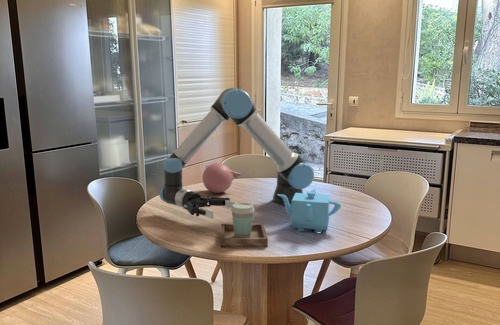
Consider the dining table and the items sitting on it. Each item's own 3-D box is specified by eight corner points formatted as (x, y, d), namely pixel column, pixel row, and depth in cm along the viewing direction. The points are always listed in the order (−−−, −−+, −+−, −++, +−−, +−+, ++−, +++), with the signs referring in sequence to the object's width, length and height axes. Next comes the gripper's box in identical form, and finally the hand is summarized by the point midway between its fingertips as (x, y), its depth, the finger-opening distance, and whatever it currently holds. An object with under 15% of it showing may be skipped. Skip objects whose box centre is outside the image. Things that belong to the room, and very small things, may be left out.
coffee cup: (258, 236, 161) (259, 205, 159) (242, 242, 155) (242, 210, 153) (242, 230, 167) (242, 200, 165) (226, 236, 161) (226, 205, 159)
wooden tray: (263, 230, 170) (263, 223, 169) (267, 246, 154) (267, 238, 153) (221, 231, 169) (221, 223, 168) (221, 247, 153) (221, 239, 152)
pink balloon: (242, 196, 219) (242, 166, 216) (201, 196, 218) (201, 166, 215) (240, 188, 234) (241, 160, 231) (203, 188, 233) (203, 160, 230)
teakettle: (343, 231, 171) (345, 194, 168) (305, 239, 161) (307, 201, 158) (311, 218, 187) (312, 184, 184) (275, 225, 177) (276, 190, 174)
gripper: (210, 202, 189) (247, 212, 176) (164, 215, 171) (201, 227, 157) (210, 185, 188) (247, 194, 174) (163, 196, 170) (201, 207, 156)
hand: (225, 210), depth 166 cm, fingers open, 13 cm apart
